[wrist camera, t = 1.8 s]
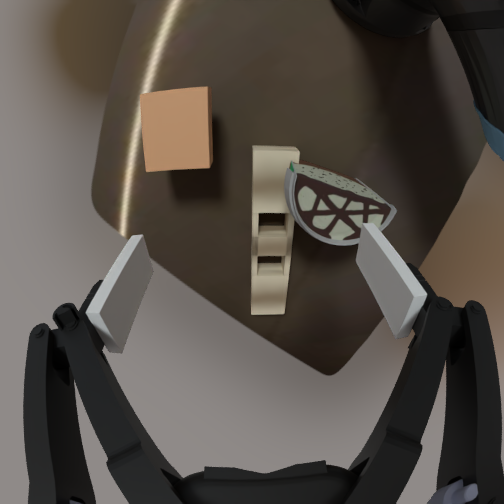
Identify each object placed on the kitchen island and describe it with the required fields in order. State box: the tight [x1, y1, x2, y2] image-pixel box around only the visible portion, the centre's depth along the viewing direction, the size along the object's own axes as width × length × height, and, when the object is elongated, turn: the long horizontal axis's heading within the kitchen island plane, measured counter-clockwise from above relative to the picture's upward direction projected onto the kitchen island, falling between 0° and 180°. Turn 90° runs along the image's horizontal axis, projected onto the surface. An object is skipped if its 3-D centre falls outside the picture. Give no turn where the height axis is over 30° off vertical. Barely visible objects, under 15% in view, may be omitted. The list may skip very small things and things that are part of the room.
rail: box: [251, 146, 300, 315], centre depth 35 cm, size 24×5×3 cm, turn 179°
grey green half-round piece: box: [284, 159, 397, 246], centre depth 29 cm, size 12×6×10 cm, turn 74°
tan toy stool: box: [140, 87, 213, 172], centre depth 26 cm, size 8×6×6 cm
